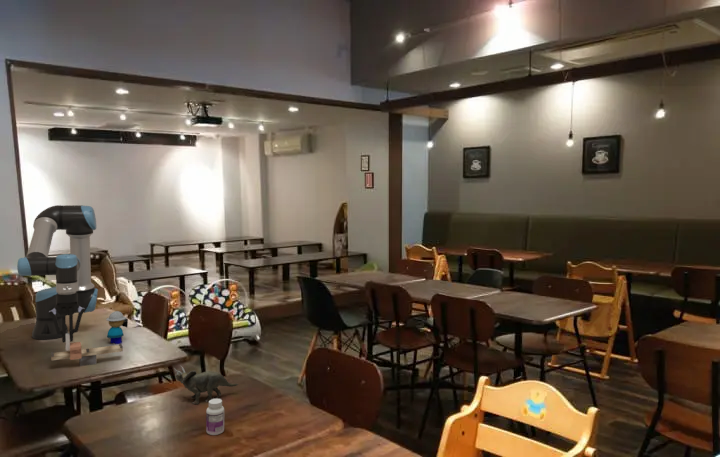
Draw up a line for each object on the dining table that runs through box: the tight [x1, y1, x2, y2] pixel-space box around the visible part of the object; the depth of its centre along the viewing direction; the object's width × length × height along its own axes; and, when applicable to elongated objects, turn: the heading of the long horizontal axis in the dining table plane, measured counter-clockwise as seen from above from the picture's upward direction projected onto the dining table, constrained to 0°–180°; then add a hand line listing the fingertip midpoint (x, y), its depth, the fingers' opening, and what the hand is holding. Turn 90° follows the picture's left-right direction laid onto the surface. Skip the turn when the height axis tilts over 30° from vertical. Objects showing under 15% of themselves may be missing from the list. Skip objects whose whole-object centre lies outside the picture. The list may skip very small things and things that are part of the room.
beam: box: [50, 343, 124, 367], centre depth 213 cm, size 26×5×6 cm, turn 122°
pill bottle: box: [205, 398, 225, 436], centre depth 157 cm, size 5×5×10 cm
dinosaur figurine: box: [173, 365, 239, 405], centre depth 180 cm, size 22×8×11 cm, turn 100°
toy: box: [105, 310, 129, 345], centre depth 243 cm, size 8×9×15 cm
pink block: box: [69, 341, 82, 360], centre depth 211 cm, size 4×7×5 cm, turn 31°
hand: (67, 349), depth 209 cm, fingers closed
